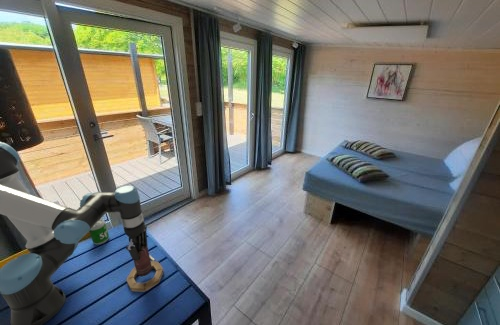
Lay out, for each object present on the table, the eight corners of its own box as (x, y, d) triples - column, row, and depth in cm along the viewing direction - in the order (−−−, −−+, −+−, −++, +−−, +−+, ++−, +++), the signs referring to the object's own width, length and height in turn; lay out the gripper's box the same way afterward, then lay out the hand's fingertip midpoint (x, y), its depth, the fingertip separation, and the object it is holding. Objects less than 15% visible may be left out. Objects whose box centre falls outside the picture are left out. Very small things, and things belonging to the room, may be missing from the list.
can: (146, 278, 92) (141, 254, 86) (134, 275, 93) (127, 251, 87) (155, 266, 97) (150, 243, 92) (143, 264, 98) (137, 240, 93)
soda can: (97, 247, 111) (91, 229, 107) (90, 241, 115) (84, 224, 110) (112, 239, 117) (107, 221, 113) (105, 233, 121) (100, 216, 116)
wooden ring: (122, 291, 90) (121, 288, 89) (137, 264, 103) (137, 260, 102) (155, 291, 90) (154, 288, 89) (166, 264, 103) (166, 261, 102)
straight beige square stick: (154, 260, 105) (154, 259, 105) (153, 261, 105) (153, 260, 104) (143, 250, 110) (143, 249, 110) (142, 251, 110) (142, 250, 110)
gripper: (134, 234, 78) (145, 279, 87) (150, 212, 91) (158, 253, 100) (114, 234, 78) (126, 279, 87) (132, 211, 91) (142, 253, 100)
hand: (143, 265), depth 94 cm, fingers closed
